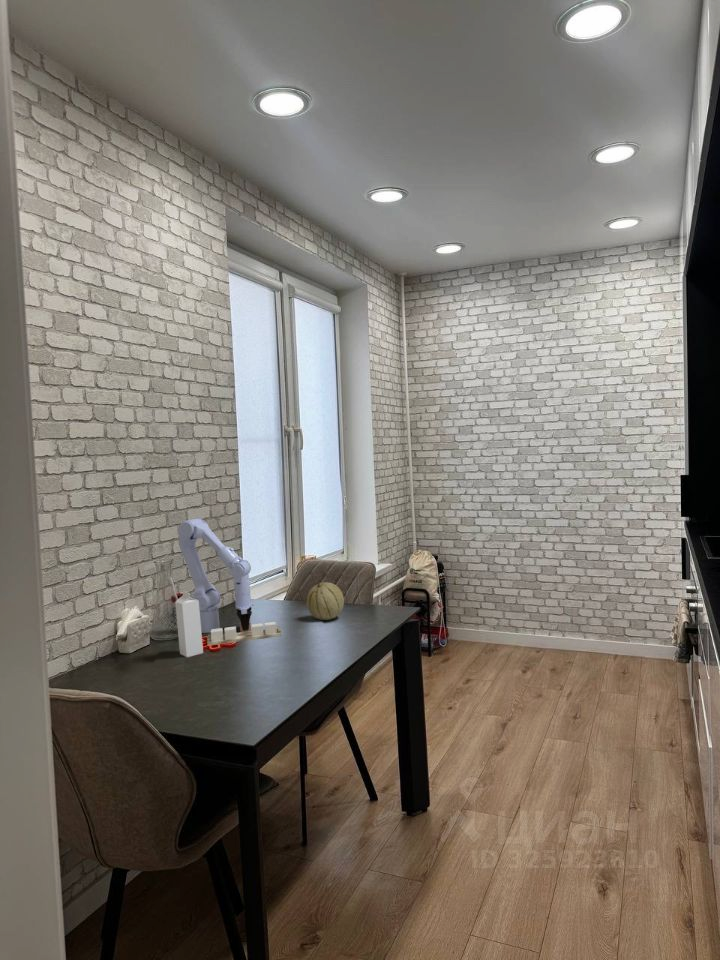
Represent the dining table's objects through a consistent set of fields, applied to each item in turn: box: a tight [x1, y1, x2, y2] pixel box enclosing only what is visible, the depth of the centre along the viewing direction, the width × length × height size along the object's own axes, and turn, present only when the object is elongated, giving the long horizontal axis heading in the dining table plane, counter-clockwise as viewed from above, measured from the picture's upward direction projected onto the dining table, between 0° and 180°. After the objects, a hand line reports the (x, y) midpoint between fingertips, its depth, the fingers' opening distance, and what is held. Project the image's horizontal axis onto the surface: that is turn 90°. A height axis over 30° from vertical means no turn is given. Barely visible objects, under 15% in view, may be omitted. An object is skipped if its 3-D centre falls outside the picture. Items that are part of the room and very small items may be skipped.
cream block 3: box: [251, 622, 264, 636], centre depth 245 cm, size 4×4×4 cm
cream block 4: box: [264, 621, 277, 635], centre depth 246 cm, size 4×4×4 cm
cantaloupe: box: [306, 581, 345, 621], centre depth 264 cm, size 15×15×15 cm
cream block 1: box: [210, 627, 224, 641], centre depth 242 cm, size 4×4×4 cm
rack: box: [206, 625, 282, 646], centre depth 244 cm, size 26×8×3 cm, turn 101°
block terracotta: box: [239, 620, 252, 633], centre depth 254 cm, size 4×4×4 cm
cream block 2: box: [224, 626, 237, 640], centre depth 243 cm, size 4×4×4 cm
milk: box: [174, 590, 204, 658], centre depth 229 cm, size 6×6×22 cm
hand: (245, 628), depth 255 cm, fingers closed on block terracotta, 4 cm apart
